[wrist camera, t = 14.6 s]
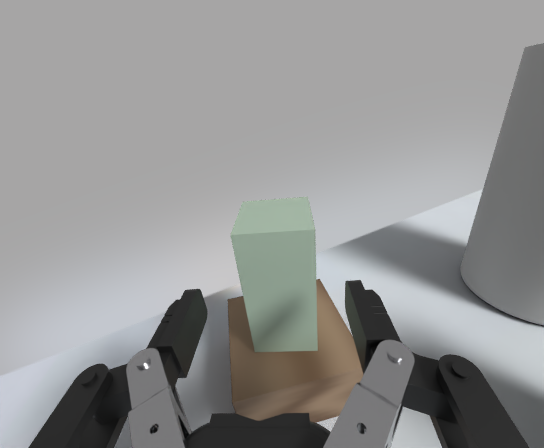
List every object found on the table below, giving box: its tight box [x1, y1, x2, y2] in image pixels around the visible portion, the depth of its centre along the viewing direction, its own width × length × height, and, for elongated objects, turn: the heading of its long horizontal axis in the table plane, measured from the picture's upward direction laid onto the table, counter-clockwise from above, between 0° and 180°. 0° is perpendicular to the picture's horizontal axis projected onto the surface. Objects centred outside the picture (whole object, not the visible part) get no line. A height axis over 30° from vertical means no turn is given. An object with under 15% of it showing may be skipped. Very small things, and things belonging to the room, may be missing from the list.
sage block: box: [231, 197, 318, 352], centre depth 19 cm, size 5×5×11 cm
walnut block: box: [228, 279, 363, 423], centre depth 23 cm, size 10×10×6 cm
